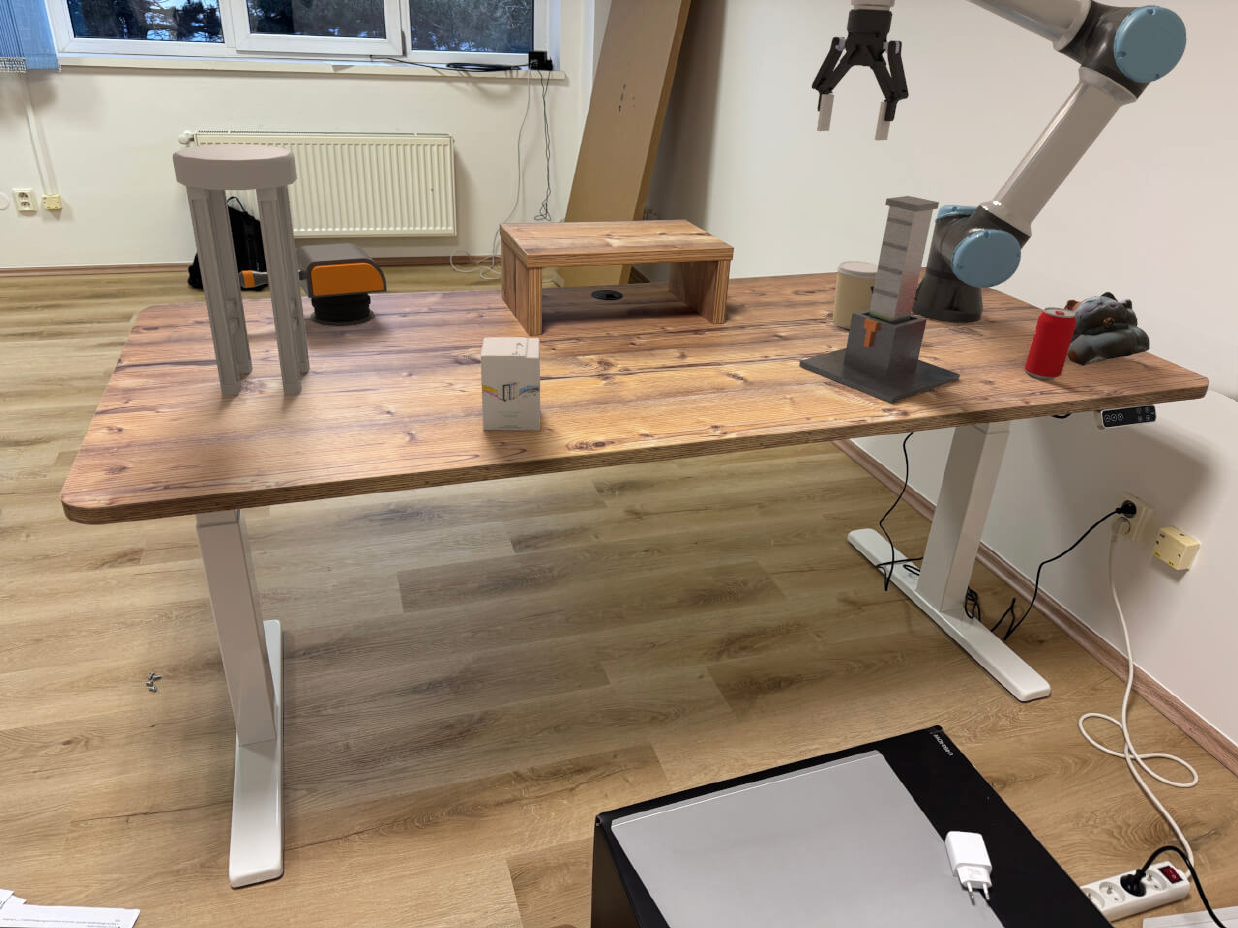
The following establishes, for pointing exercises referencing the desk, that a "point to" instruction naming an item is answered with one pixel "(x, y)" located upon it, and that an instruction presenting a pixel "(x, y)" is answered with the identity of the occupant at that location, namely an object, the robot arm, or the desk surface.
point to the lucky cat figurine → (1104, 330)
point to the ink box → (510, 383)
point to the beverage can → (1050, 343)
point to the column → (901, 258)
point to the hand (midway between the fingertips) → (851, 135)
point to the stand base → (882, 360)
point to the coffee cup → (853, 290)
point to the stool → (206, 185)
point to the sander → (333, 282)
